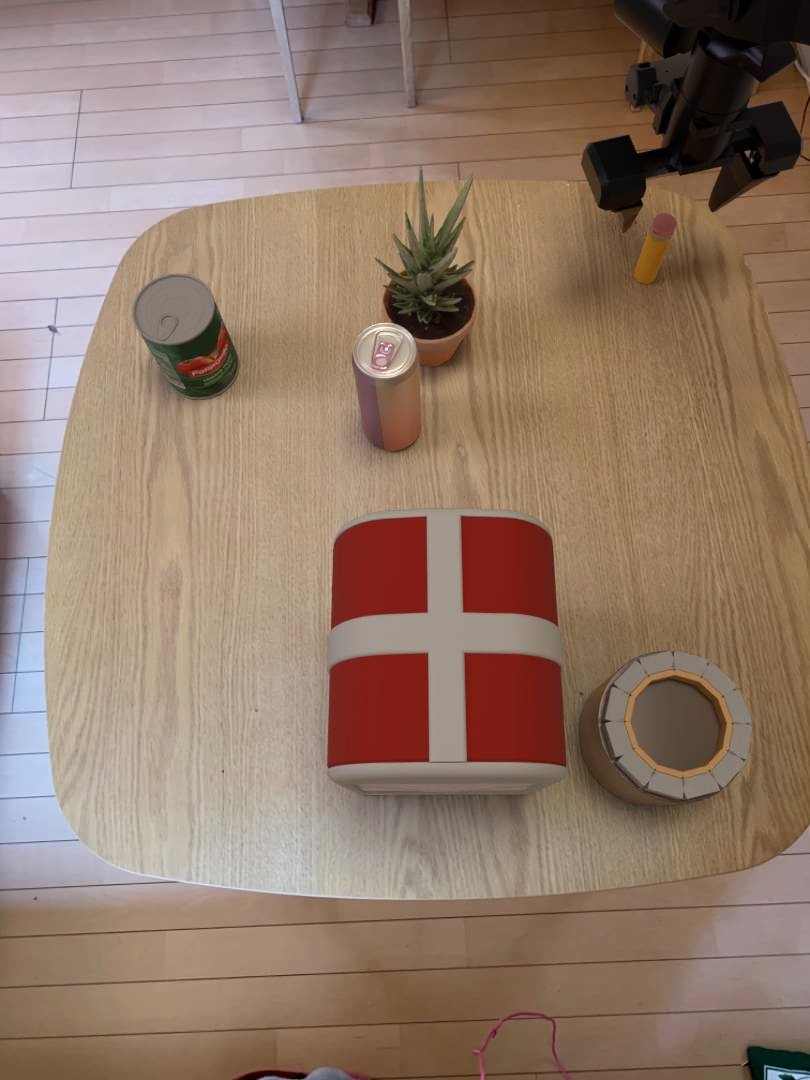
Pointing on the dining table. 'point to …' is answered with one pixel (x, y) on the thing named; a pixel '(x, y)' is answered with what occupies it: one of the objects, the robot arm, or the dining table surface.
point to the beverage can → (388, 385)
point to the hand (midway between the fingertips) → (667, 218)
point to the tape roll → (726, 705)
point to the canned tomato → (186, 335)
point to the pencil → (655, 248)
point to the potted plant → (431, 285)
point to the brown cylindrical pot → (652, 735)
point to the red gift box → (445, 655)
